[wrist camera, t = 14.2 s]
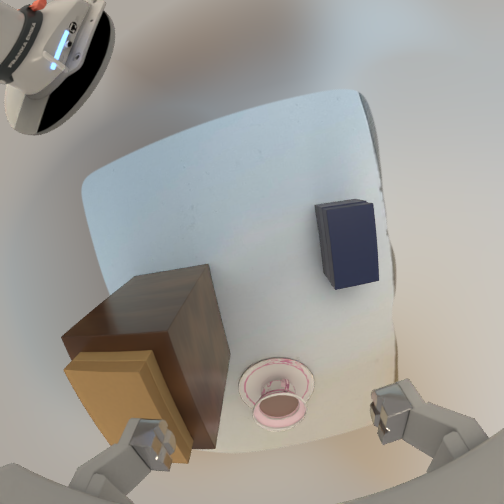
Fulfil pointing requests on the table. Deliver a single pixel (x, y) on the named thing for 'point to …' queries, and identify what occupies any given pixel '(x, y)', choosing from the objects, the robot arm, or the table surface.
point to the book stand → (168, 340)
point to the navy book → (351, 244)
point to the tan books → (126, 394)
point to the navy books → (322, 230)
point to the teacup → (277, 392)
